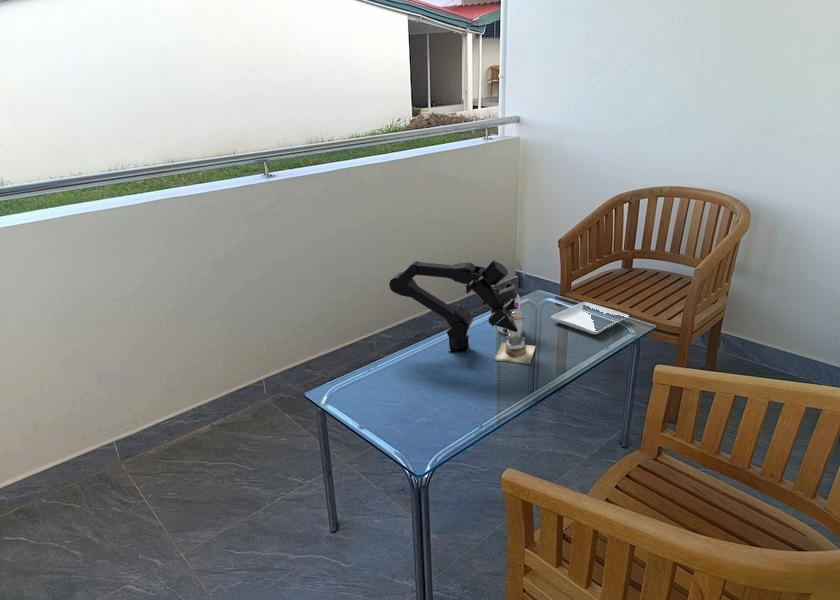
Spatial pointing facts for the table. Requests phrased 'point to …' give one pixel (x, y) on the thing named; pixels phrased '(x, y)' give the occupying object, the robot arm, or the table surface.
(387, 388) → the table surface
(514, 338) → the grey tall flared piece
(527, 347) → the beige square tile
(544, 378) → the table surface
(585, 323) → the salad plate
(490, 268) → the robot arm
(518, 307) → the supplement can
